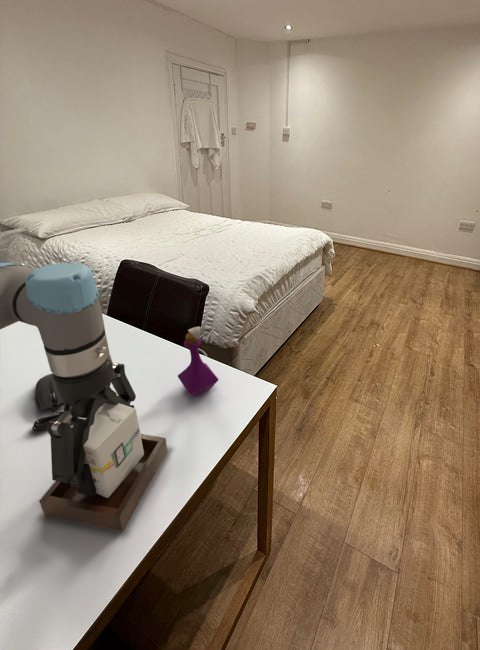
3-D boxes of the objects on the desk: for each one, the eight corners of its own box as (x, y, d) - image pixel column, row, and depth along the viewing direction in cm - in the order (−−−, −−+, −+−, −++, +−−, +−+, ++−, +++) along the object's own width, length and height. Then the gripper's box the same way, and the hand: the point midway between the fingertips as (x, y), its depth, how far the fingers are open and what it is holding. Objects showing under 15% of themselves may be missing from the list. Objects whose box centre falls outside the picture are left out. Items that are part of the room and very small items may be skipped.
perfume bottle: (178, 385, 81) (171, 325, 74) (206, 373, 85) (202, 315, 79) (190, 404, 75) (183, 341, 69) (219, 390, 80) (216, 329, 73)
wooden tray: (44, 515, 53) (38, 501, 52) (103, 440, 66) (100, 426, 65) (123, 531, 52) (119, 516, 50) (167, 451, 65) (165, 437, 63)
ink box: (68, 482, 55) (52, 433, 50) (109, 439, 62) (98, 394, 58) (108, 499, 53) (95, 450, 48) (145, 453, 60) (137, 407, 56)
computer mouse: (94, 365, 86) (91, 353, 84) (101, 410, 73) (97, 397, 71) (36, 383, 79) (32, 370, 78) (32, 436, 66) (27, 422, 64)
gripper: (41, 427, 38) (80, 539, 47) (146, 325, 58) (160, 416, 67) (-14, 418, 39) (33, 530, 47) (108, 320, 59) (126, 410, 68)
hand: (107, 463), depth 57 cm, fingers closed on ink box, 9 cm apart
